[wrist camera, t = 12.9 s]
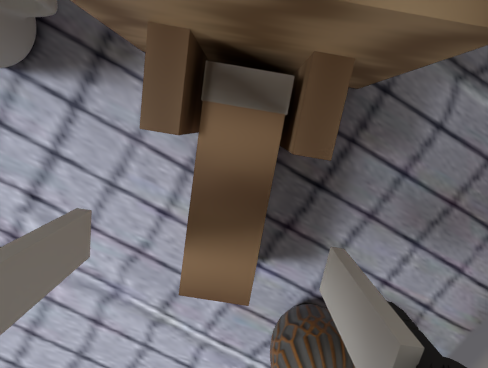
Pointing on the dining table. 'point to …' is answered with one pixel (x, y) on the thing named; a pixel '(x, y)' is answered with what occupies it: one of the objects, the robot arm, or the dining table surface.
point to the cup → (20, 27)
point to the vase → (308, 340)
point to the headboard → (286, 52)
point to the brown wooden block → (232, 179)
